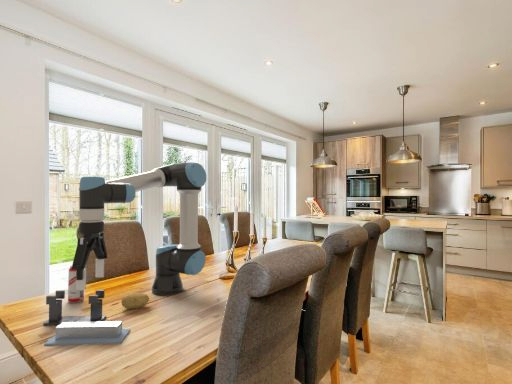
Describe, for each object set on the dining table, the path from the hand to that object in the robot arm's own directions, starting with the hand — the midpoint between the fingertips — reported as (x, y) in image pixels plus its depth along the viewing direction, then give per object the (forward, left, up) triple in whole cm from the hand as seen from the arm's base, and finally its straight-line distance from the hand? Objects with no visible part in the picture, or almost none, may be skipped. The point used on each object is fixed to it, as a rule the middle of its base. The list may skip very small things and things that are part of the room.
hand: (90, 282), depth 101 cm
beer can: (+22, -35, -19) cm, 45 cm away
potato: (-7, -26, -19) cm, 33 cm away
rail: (0, 0, -18) cm, 18 cm away
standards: (+11, -13, -19) cm, 25 cm away
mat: (0, 0, -19) cm, 19 cm away
